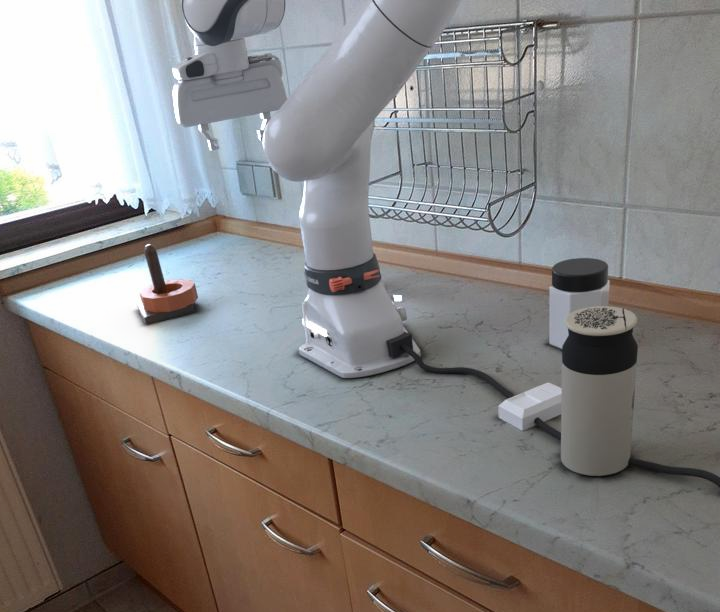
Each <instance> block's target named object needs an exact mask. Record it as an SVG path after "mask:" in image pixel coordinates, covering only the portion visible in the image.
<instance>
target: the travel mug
mask: <svg viewBox="0 0 720 612" xmlns="http://www.w3.org/2000/svg"><path fill="white" fill-rule="evenodd" d="M637 323H638V317H637V315H636V314H635V313H634V312H633V311H631V310H629V309H626V308H623V307H619V306H612V305H611V306H610V305H609V306H595V307H588V308H583V309H579V310H576V311H574V312H572V313H570V314H569V315H568V316H567V317H566V319H565V325H566V327H567V328H568V334H569V335H568V337H567V339H566V340H565V342H564V344H563V346H562V349H561V352H562V353H561V388H562V404H561V415H560V416H561V417H560V422H561V423H560V432H561V441H560V461H561V463H562V464H563V466H564V467H566V468H567V469H568V470H570V471H572V472H574V473H576V474H579V475H584V476H590V477H594V476H595V477H601V476H609V475H613V474H616V473H619V472H621V471H623V470H625V469H626V468H627V467H628V466H629V465H628V461H629V458H631V451H632V438H633V423H634V410H635V409H634V407H635V393H636V378H637V376H636V375H637V365H638V351H639V346H638V343H637V341H636V338H635V337H634V334H633V332H634V327H635V326H636V325H637Z"/></svg>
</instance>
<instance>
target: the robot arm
mask: <svg viewBox="0 0 720 612" xmlns="http://www.w3.org/2000/svg"><path fill="white" fill-rule="evenodd" d="M461 2H462V0H360V1H359V3H358V5H357V6H356V7H355V9H354V11H353V12H352V14H351V15H350V17H349V18H348V20H347V21H346V23H345V24H344V26H343V27H342V29H341V30H340V32H339V33H338V35H337V36H336V37H335V39H334V40H333V42H332V43H331V44H330V45H329V47H328V48H327V49H326V51H324V53H323V54H321V56H320V57H319V58H318V59H317V61H316V62H315V63H314V64H313V66H312V67H311V68H310V69H309V71H308V72H307V73H306V74H305V75H304V76H303V78H302V79H301V80H300V82H299V83H298V84H297V86H295V88H294V90H292V92H291V93H290V94H289V96H288V97H287V92H286V89H285V85H284V82H283V78H282V77H283V67H282V62H281V59H280V58H279V57H278V56H277V55H275V54H272V53H271V52H270V53H269V52H268V53H263V54H256V55H249V54H248V49H247V44H246V39H245V38H250V37H254V36H259V35H263V34H267V33H270V32H272V31H273V30H276V29H277V28H278V27H279V26H280V25H281V24H282V21H283V20H284V17H285V12H286V0H181V11H182V15H183V18H184V22H185V24H186V25H187V27H188V29H189V30H190V32H191V33H192V34H193V47H194V54H192V55H190V56H188V57H187V58H185V59H184V60H181V61H180V62H177V64H174V65H173V67H172V74H173V77H174V78H175V79H176V80H177V81H175V83H174V84H173V88H172V100H173V109H174V114H175V115H174V116H175V119H176V122H177V124H179V125H180V126H181V127H183V128H191V127H196V126H197V127H198V131H199V132H200V134H201V135H202V136H203V137H204V139H206V140H207V144H208V149H209V151H211V152H212V151H216V150H220V146H219V141H218V138H214V137H213V138H212V137H211V135H210V134H209V132H208V131H209V130H210V128H209V124H212V123H219V122H223V121H228V120H234V119H238V118H244V117H250V116H255V115H259V117H260V119H261V120H262V123H261V127H260V128H259V129H256V133H257V134H256V135H257V138H258V139H257V140H259V141H260V142H262V147H263V153H264V157H265V159H266V161H267V163H268V164H269V166H270V168H271V169H272V170H273V171H274V172H275V173H276V174H277V175H278V176H279V177H282V178H283V179H285V180H287V181H291V182H296V183H297V182H298V183H300V182H303V192H302V193H303V194H302V200H301V203H300V206H299V207H300V208H299V212H298V221H299V227H300V234H301V239H302V240H301V241H302V245H303V252H304V258H305V263H304V265H303V267H304V278H305V282H306V287H307V288H308V291H307V294H306V297H305V298H304V300H303V302H302V303H301V310H302V312H301V313H302V319H301V320H302V325H303V329H304V337H305V342H304V343H302V344H301V345H300V346H299V347H298V354H299V355H300V356H301V357H303V358H305V359H307V360H309V361H311V362H313V363H314V364H316V365H318V366H319V367H321V368H323V369H325V370H327V371H329V372H330V373H332V374H334V375H337V376H338V377H340V378H342V379H355V378H363V377H369V376H374V375H377V374H381V373H385V372H388V371H392V370H395V369H398V368H401V367H403V366H406V365H408V364H410V363H411V364H412V363H413V362H416V364H417V366H418V367H419V368H420V369H422V370H423V371H426V372H428V373H431V374H440V375H448V374H468V375H471V376H474V377H477V378H480V379H482V380H483V381H485V382H486V383H487V384H489V385H490V386H492V387H493V388H494V389H495V390H496V391H498V392H499V393H500V394H502V395H503V396H504V397H505V398H506V399H508V398H511V397H513V396H515V395H514V394H513V393H512V392H511V391H510V390H509V389H508V388H507V387H505V386H504V385H502V384H500V382H498V381H497V380H496V379H494V378H493V377H492V376H490V375H489V374H487V373H485V372H483V371H481V370H478V369H475V368H472V367H471V368H470V367H462V366H459V367H435V366H431V365H428V364H426V363H425V362H424V361H423V359H422V358H421V357H422V353H421V350H420V348H419V346H418V344H417V343H416V341H414V339H413V334H412V333H409V332H408V330H407V329H406V327H405V326H404V325H403V322H406V321H407V319H408V316H407V310H406V308H405V306H400V307H396V305H395V302H401V301H402V295H399V294H397V295H396V294H393V293H389V291H388V290H387V287H386V285H385V282H383V281H382V274H381V273H382V272H381V270H380V269H381V268H380V267H381V266H380V263H379V261H378V259H377V254H376V253H375V252H374V247H373V238H372V228H371V220H370V219H371V218H370V209H369V208H370V207H369V190H370V175H371V174H370V173H371V149H372V148H371V146H372V138H373V134H374V130H375V125H376V118H377V117H378V116H380V114H381V112H383V111H384V109H385V108H386V107H387V106H388V105H389V104H390V103H391V101H393V100H394V99H395V98H396V96H397V95H399V93H400V91H401V90H402V89H403V87H404V86H405V85H406V83H407V82H408V80H410V78H411V76H413V74H414V73H415V71H416V70H417V68H418V67H419V66H420V64H421V63H422V62H423V61H424V59H425V57H426V56H427V55H428V54H429V52H430V51H431V50H432V48H433V47H434V45H435V44H437V41H438V40H439V38H441V36H442V35H443V32H444V31H445V30H446V28H447V27H448V25H449V23H450V21H452V19H453V16H454V15H455V13H456V12H457V10H458V8H459V6H460V4H461ZM248 55H249V56H248ZM271 112H275V113H274V114H273V115H272V116H271ZM534 423H535V424H536V425H535V426H537V427H538V428H539V429H541V430H542V431H543V432H545V433H547V435H550V436H551V437H552V438H555V439H557V440H558V441H560V442H561V431H559V430H557V429H555V428H554V427H553V426H551V425H549V424H548V423H547V422H546V421H545V422H543V421H542V420H541V419H540V418H538V417H537V418H535V420H534ZM628 466H631V467H636V468H641V469H646V470H649V471H654V472H657V473H661V474H668V475H676V476H687V477H695V478H699V479H700V478H701V479H704V480H706V481H709V482H711V483H713V484H714V485H715V486H717V487H718V488H719V489H720V476H718V475H717V474H714V473H713V472H711V471H708V470H703V469H700V468H693V467H680V466H671V465H665V464H660V463H656V462H652V461H649V460H648V461H647V460H643V459H639V458H633V457H630V458H629V461H628Z"/></svg>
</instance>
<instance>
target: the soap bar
mask: <svg viewBox="0 0 720 612" xmlns="http://www.w3.org/2000/svg"><path fill="white" fill-rule="evenodd" d="M561 404H562V387H559V386H558V385H555V384H553V383H551V382H546V383H543V384H541V385H538V386H536V387H535V386H534V387H533V388H531V389H528V390H525V391H523V392H521V393H519V394H516V395H514V396H513V397H511V398H506V399H504V401H502V402H501V403H500V404H499V405H498V406H497V408H498V409H497V410H498V411H497V413H498V419H500V420H502V421H504V422H506V423H508V424H509V425H510V426H513V427H515V428H516V429H518V430H519V431H522V432H523V431H526V430H528V429H531V428H533V427H535V426H537V425H536V424H535V423H534V420H535V418H537V417H538V418H540V419H541V420H542V421H543V422H545V423H546V421H549V420H551V419H554V418H556V417H558V416H561Z"/></svg>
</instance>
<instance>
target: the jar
mask: <svg viewBox="0 0 720 612" xmlns="http://www.w3.org/2000/svg"><path fill="white" fill-rule="evenodd" d="M610 283H611V281H610V279H609V264H608V263H607V262H606V261H604V260H602V259H598V258H592V257H577V258H569V259H565V260H564V259H563V260H562V261H558V262H556V263H555V264H553V266H552V267H551V285H550V286H549V291H548V292H549V293H548V294H549V295H548V296H549V297H548V298H549V299H548V300H549V301H548V302H549V303H548V304H549V305H548V306H549V309H548V310H549V311H548V313H549V317H548V318H549V319H548V321H549V323H548V328H549V330H548V331H549V332H548V335H549V336H548V338H549V340H548V343H549V345H550V346H553V347H556V348H558V349H560V350H562V346H563V344H564V342H565V340H566V339H567V337H568V335H569V334H568V328H567V327H566V325H565V319H566V317H567V316H568V315H569V314H570V313H572V312H574V311H576V310H579V309H583V308H588V307H595V306H610V305H609V304H610Z"/></svg>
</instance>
